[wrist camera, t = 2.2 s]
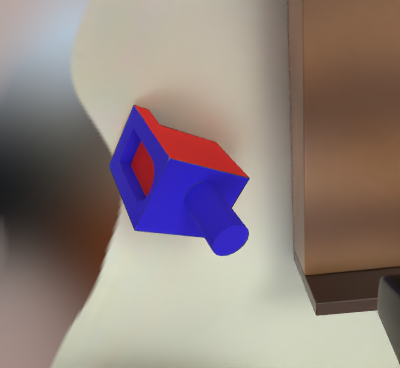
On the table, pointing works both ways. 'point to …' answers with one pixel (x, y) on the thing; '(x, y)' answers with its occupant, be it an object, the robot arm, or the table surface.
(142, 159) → the toy building block
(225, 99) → the table surface
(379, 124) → the shelf
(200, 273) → the table surface
